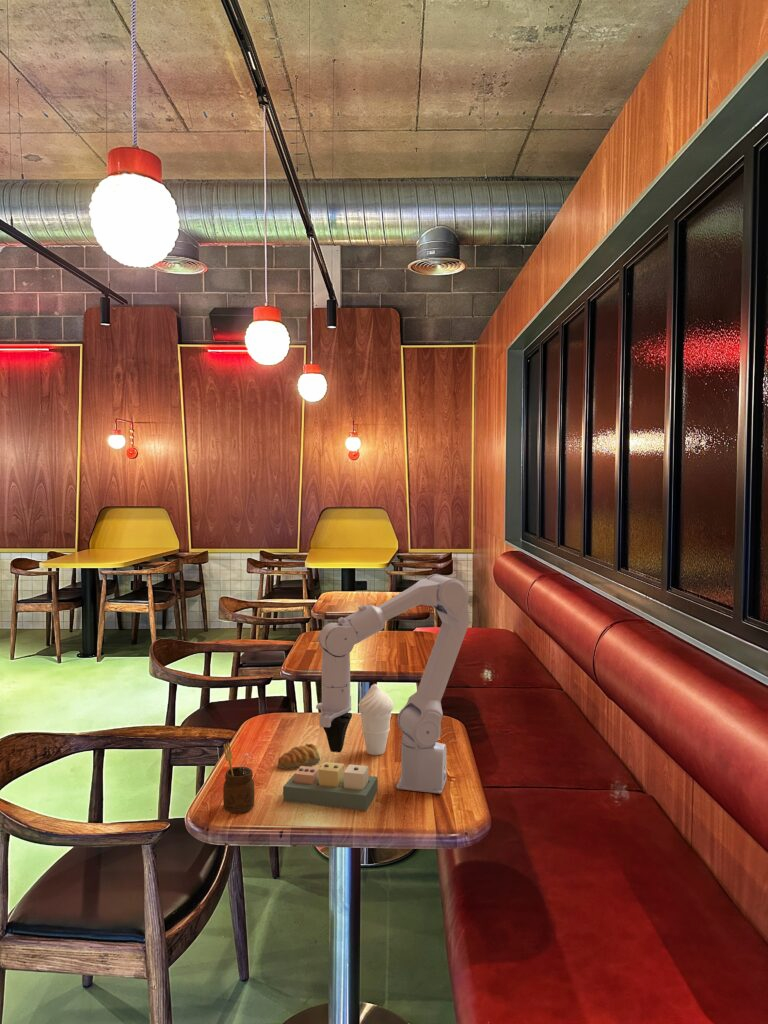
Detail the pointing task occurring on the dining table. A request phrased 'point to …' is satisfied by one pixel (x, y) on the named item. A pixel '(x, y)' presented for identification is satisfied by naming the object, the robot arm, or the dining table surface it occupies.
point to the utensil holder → (238, 787)
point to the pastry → (299, 757)
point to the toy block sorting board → (330, 794)
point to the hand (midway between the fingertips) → (336, 750)
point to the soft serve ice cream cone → (375, 719)
